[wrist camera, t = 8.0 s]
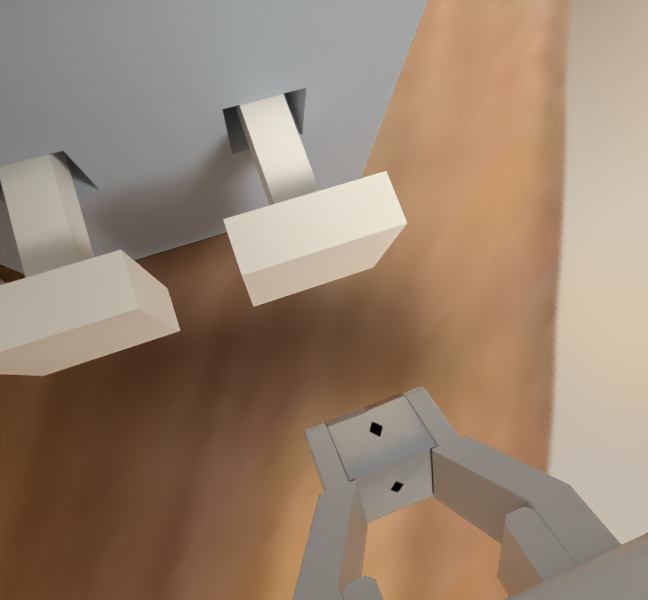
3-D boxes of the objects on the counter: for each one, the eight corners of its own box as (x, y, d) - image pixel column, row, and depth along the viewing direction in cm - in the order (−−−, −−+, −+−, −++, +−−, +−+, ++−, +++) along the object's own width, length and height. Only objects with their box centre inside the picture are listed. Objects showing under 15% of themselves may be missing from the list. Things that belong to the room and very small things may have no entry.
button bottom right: (253, 306, 12) (241, 275, 9) (193, 128, 13) (161, 35, 9) (373, 267, 13) (407, 223, 9) (308, 98, 13) (317, -1, 10)
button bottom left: (43, 375, 11) (-62, 372, 8) (-6, 180, 12) (-121, 100, 9) (180, 330, 12) (138, 308, 8) (124, 147, 13) (64, 57, 9)
